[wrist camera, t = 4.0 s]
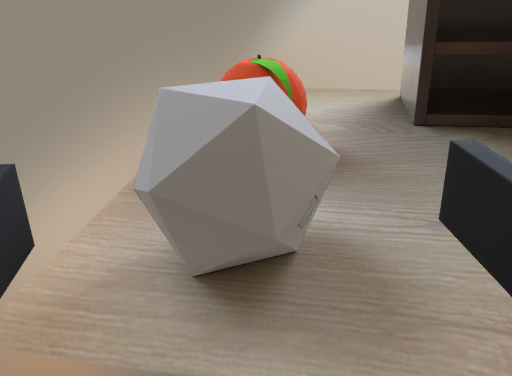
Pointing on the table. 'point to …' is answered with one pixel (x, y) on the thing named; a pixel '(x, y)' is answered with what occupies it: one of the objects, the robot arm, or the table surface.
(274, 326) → the table surface
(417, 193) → the table surface
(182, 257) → the die
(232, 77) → the clementine
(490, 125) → the shelf
